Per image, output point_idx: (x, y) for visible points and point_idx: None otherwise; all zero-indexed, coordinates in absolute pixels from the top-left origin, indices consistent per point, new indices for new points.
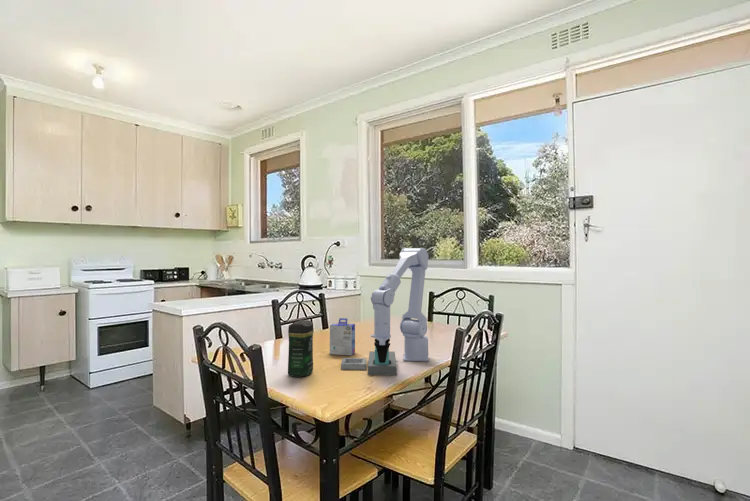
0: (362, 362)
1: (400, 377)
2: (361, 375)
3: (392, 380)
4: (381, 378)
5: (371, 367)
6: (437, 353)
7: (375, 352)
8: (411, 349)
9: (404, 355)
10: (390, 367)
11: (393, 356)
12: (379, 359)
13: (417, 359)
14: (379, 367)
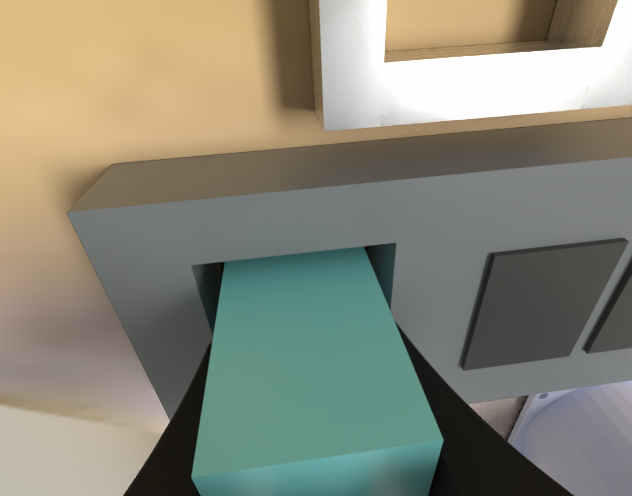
0: (412, 68)
1: (148, 400)
2: (60, 84)
3: (48, 370)
4: (58, 298)
5: (97, 248)
6: None
7: (203, 431)
8: (584, 491)
9: (617, 390)
10: (167, 403)
11: (506, 388)
12: (196, 378)
13: (521, 438)
14: (132, 326)
